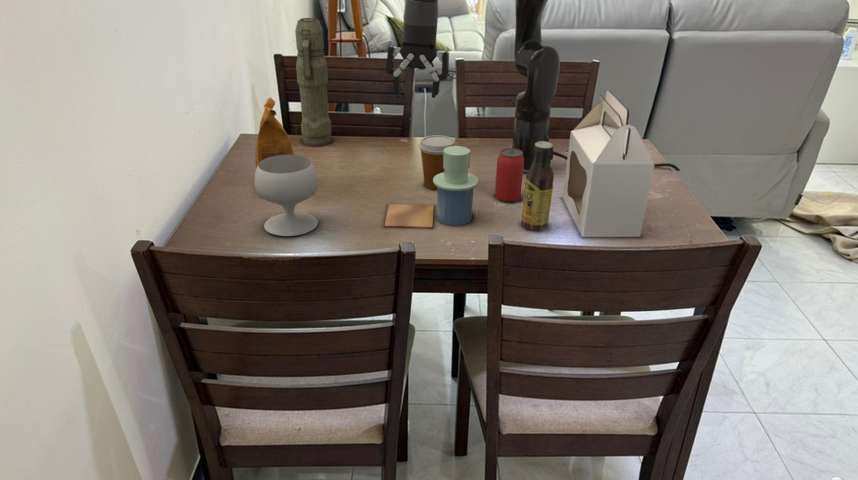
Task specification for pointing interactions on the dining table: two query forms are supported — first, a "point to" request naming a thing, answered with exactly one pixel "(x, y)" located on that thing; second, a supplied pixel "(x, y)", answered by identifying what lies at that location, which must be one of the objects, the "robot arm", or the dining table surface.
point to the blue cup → (454, 206)
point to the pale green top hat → (455, 170)
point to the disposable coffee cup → (433, 156)
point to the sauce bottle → (538, 188)
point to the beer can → (509, 175)
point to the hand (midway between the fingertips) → (415, 95)
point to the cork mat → (409, 216)
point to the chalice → (287, 192)
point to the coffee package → (271, 136)
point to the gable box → (607, 173)
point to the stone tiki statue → (312, 82)
